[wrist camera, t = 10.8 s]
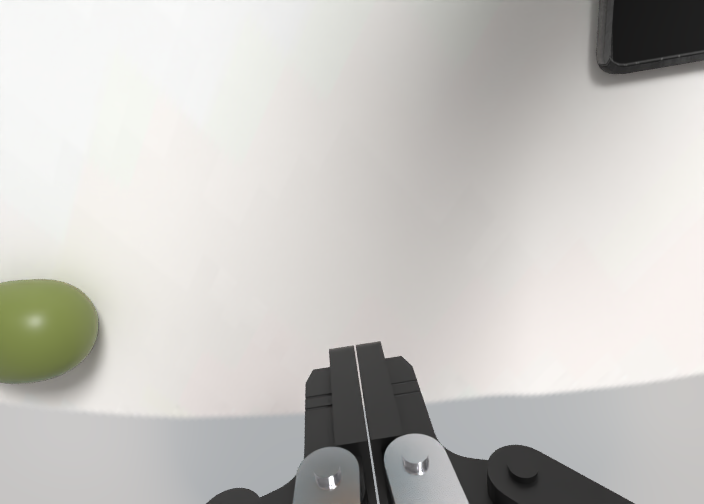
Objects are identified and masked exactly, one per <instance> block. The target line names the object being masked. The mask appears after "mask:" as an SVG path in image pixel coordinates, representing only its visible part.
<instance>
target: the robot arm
mask: <svg viewBox="0 0 704 504" xmlns="http://www.w3.org/2000/svg"><path fill="white" fill-rule="evenodd" d="M356 350H357V357H358V364H359V371H360V377H361V384H362V391H363V398H364V405H365V411H366V418H367V424H368V431H369V437H370V443H371V450H372V456H373V462H374V469H375V476H376V482H377V488H378V495H379V501H380V504H634V503H633V502H631V501H629V500H627V499H625V498H623V497H622V496H620V495H618V494H616V493H614V492H612V491H610V490H609V489H607V488H605V487H603V486H601V485H600V484H598V483H596V482H594V481H592V480H591V479H588V478H587V477H585V476H583V475H581V474H580V473H578V472H576V471H574V470H572V469H570V468H569V467H567V466H565V465H563V464H561V463H559V462H558V461H556V460H554V459H552V458H550V457H548V456H547V455H545V454H543V453H541V452H539V451H537V450H535V449H533V448H530V447H527V446H522V445H509V446H504V447H502V448H499V449H498V450H496V451H495V452H494V453H493V454H492V455H491V456H490V458H489V460H480V459H473V458H467V457H462V456H459V455H457V454H454V453H452V452H451V451H449V450H447V449H446V448H445V447H444V446H442V444H441V443H440V442H439V441H438V439H437V438H436V435H435V433H434V430H433V427H432V424H431V421H430V418H429V415H428V412H427V409H426V406H425V403H424V400H423V397H422V394H421V392H420V388H419V385H418V382H417V379H416V376H415V373H414V370H413V367H412V366H411V365H410V364H409V363H408V362H407V361H406V360H405V359H404V358H403V357H402V356H399V357H392V358H386V359H385V358H384V354H383V350H382V345H381V342H380V341H379V342H373V343H366V344H360V345H356ZM329 357H330V367H328V368H322V369H315V370H313V371H312V373H311V375H310V376H309V378H308V380H307V382H306V393H305V397H306V400H305V411H306V412H305V449H304V460H303V461H302V463H301V464H300V466H299V468H298V470H297V474H296V476H295V477H294V478H293V479H292V480H291V481H290V482H289V483H287V484H286V485H284V486H283V487H281V488H279V489H277V490H275V491H273V492H271V493H269V494H267V495H265V496H262V497H259V496H258V495H257V494H256V493H255V492H253V491H251V490H249V489H245V488H234V489H230V490H227V491H224V492H222V493H220V494H218V495H216V496H215V497H214V498H212V499H211V500H210V501H209V502H208V503H206V504H377V500H376V493H375V486H374V479H373V472H372V466H371V459H370V452H369V446H368V439H367V432H366V425H365V419H364V411H363V405H362V398H361V391H360V385H359V378H358V371H357V364H356V358H355V351H354V346H347V347H341V348H334V349H329Z"/></svg>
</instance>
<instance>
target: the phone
mask: <svg viewBox="0 0 704 504" xmlns="http://www.w3.org/2000/svg"><path fill="white" fill-rule="evenodd" d="M596 55H597V62H598V64H599V66H600V68H601V69H602V70H603V71H605V72H607V73H611V74H625V73H631V72H637V71H643V70H649V69H655V68H661V67H667V66H672V65H678V64H684V63H690V62H696V61H702V60H704V0H600V3H599V19H598V36H597V52H596Z"/></svg>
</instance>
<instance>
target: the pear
mask: <svg viewBox="0 0 704 504" xmlns="http://www.w3.org/2000/svg"><path fill="white" fill-rule="evenodd" d="M97 334H98V316H97V312H96V309H95V307H94V305H93V303H92V302H91V301H90V299H89V298H88V297H87V296H86V295H85V294H84V293H83V292H82V291H81V290H79V289H78V288H76V287H74V286H72V285H70V284H68V283H65V282H61V281H56V280H47V279H32V280H17V281H8V282H2V283H0V383H10V384H22V383H33V382H39V381H44V380H48V379H51V378H54V377H57V376H60V375H62V374H64V373H66V372H68V371H70V370H71V369H73V368H74V367H76V366H77V365H78V364H80V363H81V362H82V361H83V360H84V359H85V358H86V357H87V355H88V354H89V353H90V351H91V350H92V348H93V346H94V344H95V341H96V338H97Z"/></svg>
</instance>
